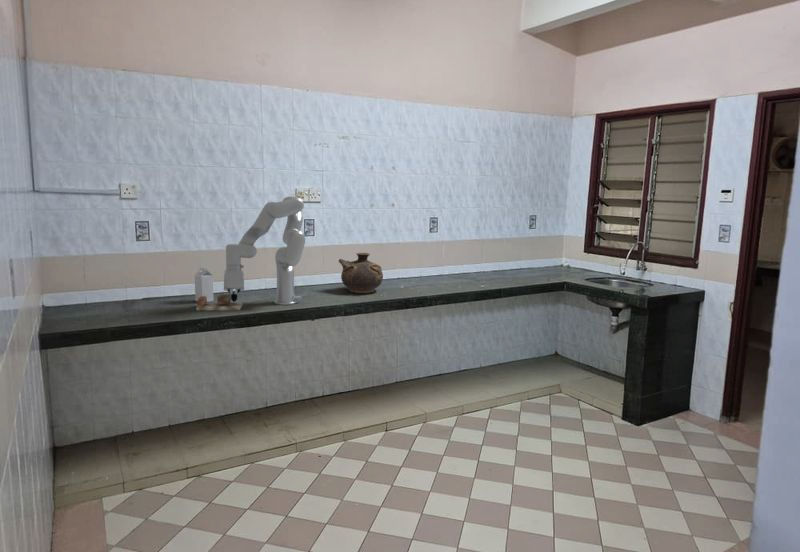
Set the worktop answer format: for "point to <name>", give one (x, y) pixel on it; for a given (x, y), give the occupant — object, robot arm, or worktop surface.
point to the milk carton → (203, 284)
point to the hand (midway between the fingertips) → (234, 301)
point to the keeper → (224, 299)
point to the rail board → (216, 305)
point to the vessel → (361, 274)
